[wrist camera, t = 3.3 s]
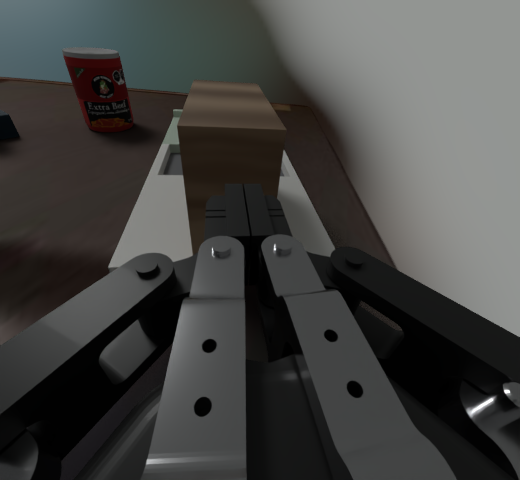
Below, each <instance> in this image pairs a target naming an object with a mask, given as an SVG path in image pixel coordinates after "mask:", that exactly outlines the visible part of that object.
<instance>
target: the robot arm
mask: <svg viewBox="0 0 520 480" xmlns="http://www.w3.org/2000/svg"><path fill="white" fill-rule="evenodd" d="M205 217H206V218H205V231H204V242H203V243H202V244H201V246H200V248H199V251H198V252H197V253H196V254H194V255H193V256H191V257H188V258H186V259H182V260H179V261H175V262H173V261H172V260H171V259H170V258H169V257H168V256H167V255H164V254H161V253H146V254H142V255H139V256H136V257H134V258H132V259H131V260H129V261H128V262H126V263H125V264H123V265H122V266H120V267H119V268H117V269H116V270H114V271H113V272H111V273H110V274H108V275H107V276H105V277H104V278H102V279H101V280H99V281H98V282H96V283H94V284H93V285H91V286H90V287H88V288H87V289H85V290H84V291H82V292H81V293H79V294H78V295H76V296H75V297H73V298H72V299H70V300H69V301H67V302H66V303H64V304H63V305H61V306H60V307H58V308H57V309H55V310H54V311H52V312H51V313H49V314H48V315H46V316H45V317H43V318H42V319H40V320H39V321H37V322H36V323H34V324H33V325H31V326H30V327H28V328H27V329H25V330H24V331H22V332H20V333H19V334H17V335H16V336H14V337H13V338H11V339H10V340H8V341H7V342H5V343H4V344H2V345H1V346H0V480H60V476H61V469H62V466H61V460H62V459H63V458H64V457H65V456H66V455H67V454H68V453H69V452H70V451H71V450H72V449H73V448H74V447H75V446H76V445H77V444H78V443H79V441H80V440H81V439H82V438H83V437H84V436H85V435H86V434H87V433H88V432H89V431H90V430H91V429H92V428H93V427H94V426H95V425H96V423H97V422H98V421H99V420H100V419H101V418H102V417H103V416H104V415H105V414H106V413H107V412H108V411H109V410H110V409H111V408H112V407H113V405H114V404H115V403H116V402H117V401H118V400H119V399H120V398H121V397H122V396H123V395H124V394H125V393H126V392H127V391H128V390H129V389H130V387H131V386H132V385H133V384H134V383H135V382H136V381H137V380H138V379H139V378H140V377H141V376H142V375H143V374H144V373H145V372H146V371H147V369H148V368H149V367H150V366H151V365H152V364H153V363H154V362H155V361H156V360H157V359H158V358H159V357H160V356H161V355H162V354H163V353H164V351H165V350H166V349H167V348H168V347H169V346H170V345H171V344H172V343H173V346H172V351H171V355H170V360H169V364H168V369H167V373H166V378H165V382H163V383H162V384H160V385H159V386H157V387H156V388H154V389H153V390H152V391H151V392H149V393H148V394H147V395H146V396H145V397H144V398H143V399H142V400H141V401H140V402H139V403H138V404H137V405H136V406H135V407H134V408H133V409H132V410H131V411H130V413H129V414H128V415H127V416H126V417H125V419H124V420H123V421H122V422H121V423H120V425H119V426H118V427H117V428H116V429H115V431H114V432H113V433H112V434H111V435H110V437H109V438H108V439H107V440H106V441H105V443H104V444H103V445H102V446H101V447H100V449H99V450H98V451H97V452H96V453H95V454H94V456H93V457H92V458H91V459H90V460H89V462H88V463H87V464H86V465H85V466H84V468H83V469H82V470H81V471H80V472H79V474H78V475H77V476H76V477H75V478H74V480H520V337H518V336H516V335H514V334H513V333H511V332H509V331H507V330H505V329H504V328H502V327H500V326H498V325H496V324H494V323H492V322H491V321H489V320H487V319H485V318H483V317H482V316H480V315H478V314H476V313H474V312H472V311H470V310H469V309H467V308H465V307H463V306H462V305H460V304H458V303H456V302H454V301H453V300H451V299H449V298H447V297H445V296H443V295H442V294H440V293H438V292H436V291H434V290H432V289H431V288H429V287H427V286H425V285H423V284H421V283H420V282H418V281H416V280H414V279H412V278H411V277H409V276H407V275H405V274H403V273H402V272H400V271H398V270H396V269H394V268H392V267H391V266H389V265H387V264H385V263H383V262H381V261H380V260H378V259H376V258H374V257H372V256H371V255H369V254H367V253H365V252H363V251H361V250H359V249H356V248H352V247H340V248H337V249H335V250H334V251H333V252H332V253H331V256H330V257H328V256H323V255H318V254H314V253H310V252H308V251H306V250H305V248H304V246H303V245H302V243H301V242H300V241H299V240H297V239H296V238H294V237H293V236H292V234H291V231H290V228H289V225H288V222H287V220H286V217H285V214H284V211H283V208H282V206H281V203H280V201H279V200H278V199H277V198H275V197H274V196H273V195H264V194H263V190H262V187H261V184H243V187H242V184H225V196H211V197H210V199H209V200H208V201H207V202H206V216H205ZM248 279H249V285H256V287H257V300H256V302H257V307H258V312H259V316H260V320H261V325H262V329H263V333H264V337H265V342H266V346H267V351H268V363H264V362H258V361H252V360H246V359H245V298H244V289H245V285H248ZM361 300H362V301H363V302H365V303H366V304H368V305H369V306H371V307H372V308H374V309H375V310H377V311H379V312H380V313H382V314H383V315H385V316H386V317H388V318H389V319H391V320H392V321H394V322H395V323H397V324H398V325H399V326H400V327H401V328H402V330H403V331H398V330H395V329H393V328H391V327H390V326H389V325H387V324H386V323H384V322H383V321H381V320H380V319H378V318H377V317H375V316H374V315H372V314H371V313H369V312H368V311H366V310H365V309H363V308H362V307H360V306H359V304H360V302H361Z"/></svg>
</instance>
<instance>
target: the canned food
mask: <svg viewBox="0 0 520 480" xmlns="http://www.w3.org/2000/svg"><path fill="white" fill-rule="evenodd" d="M62 51H63V56H64V59H65V62H66V65H67V68H68V71H69V74H70V77H71V80H72V83H73V86H74V89H75V92H76V95H77V98H78V101H79V104H80V107H81V110H82V113H83V116H84V119H85V122H86V124H87V125H88V127H89V128H90V129H92V130H94V131H98V132H119V131H124V130H127V129H129V128H131V127H132V126H133V115H132V111H131V106H130V101H129V97H128V92H127V87H126V84H125V78H124V74H123V69H122V65H121V61H120V56H119V53H118V52H117V51H115V50H110V49H102V48H81V47H78V48H65V49H63V50H62Z"/></svg>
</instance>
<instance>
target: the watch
mask: <svg viewBox="0 0 520 480" xmlns="http://www.w3.org/2000/svg"><path fill="white" fill-rule="evenodd" d="M13 137H19V134H18V132H17V130H16V128H15V126H14V124H13V122H12V120H11V118H10V116H9V114H7V113H5V112H3V111H1V110H0V140H3V139H8V138H13Z"/></svg>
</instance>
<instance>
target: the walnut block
mask: <svg viewBox="0 0 520 480" xmlns="http://www.w3.org/2000/svg"><path fill="white" fill-rule="evenodd" d="M177 130H178V138H179V146H180V155H181V163H182V171H183V179H184V187H185V195H186V204H187V212H188V220H189V228H190V236H191V245H192V253H193V255H194V254H196V253H197V252H198V251H199V248H200V246H201V244H202V243H203V242H204V231H205V218H206V217H205V216H206V202H207V201H208V200H209V199H210V197H211V196H225V184H242V187H243V184H261V187H262V190H263V194H264V195H273V196H274V197H275V198H277V195H278V188H279V180H280V173H281V165H282V158H283V151H284V143H285V136H286V128H285V127H284V125H283V124H282V122H281V121H280V119H279V117H278V116H277V114H276V113H275V111H274V110H273V108H272V106H271V105H270V103H269V102H268V100H267V99H266V97H265V95H264V94H263V92H262V91H261V89H260V88H259V86H258V84H253V83H237V82H222V81H207V80H194V81H193V84H192V87H191V89H190V92H189V94H188V97H187V100H186V103H185V105H184V108H183V111H182V113H181V116H180V119H179V121H178V124H177Z"/></svg>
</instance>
